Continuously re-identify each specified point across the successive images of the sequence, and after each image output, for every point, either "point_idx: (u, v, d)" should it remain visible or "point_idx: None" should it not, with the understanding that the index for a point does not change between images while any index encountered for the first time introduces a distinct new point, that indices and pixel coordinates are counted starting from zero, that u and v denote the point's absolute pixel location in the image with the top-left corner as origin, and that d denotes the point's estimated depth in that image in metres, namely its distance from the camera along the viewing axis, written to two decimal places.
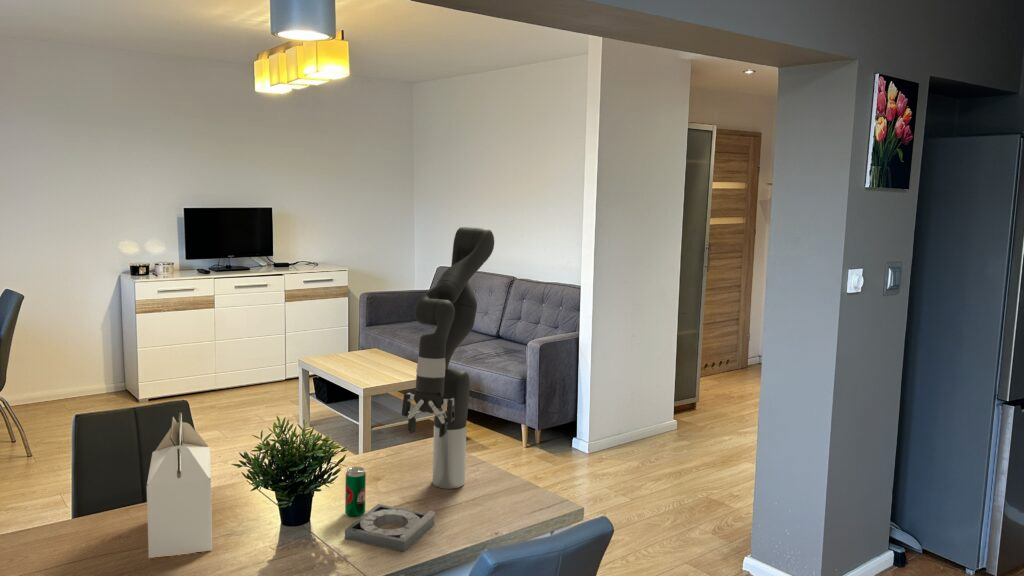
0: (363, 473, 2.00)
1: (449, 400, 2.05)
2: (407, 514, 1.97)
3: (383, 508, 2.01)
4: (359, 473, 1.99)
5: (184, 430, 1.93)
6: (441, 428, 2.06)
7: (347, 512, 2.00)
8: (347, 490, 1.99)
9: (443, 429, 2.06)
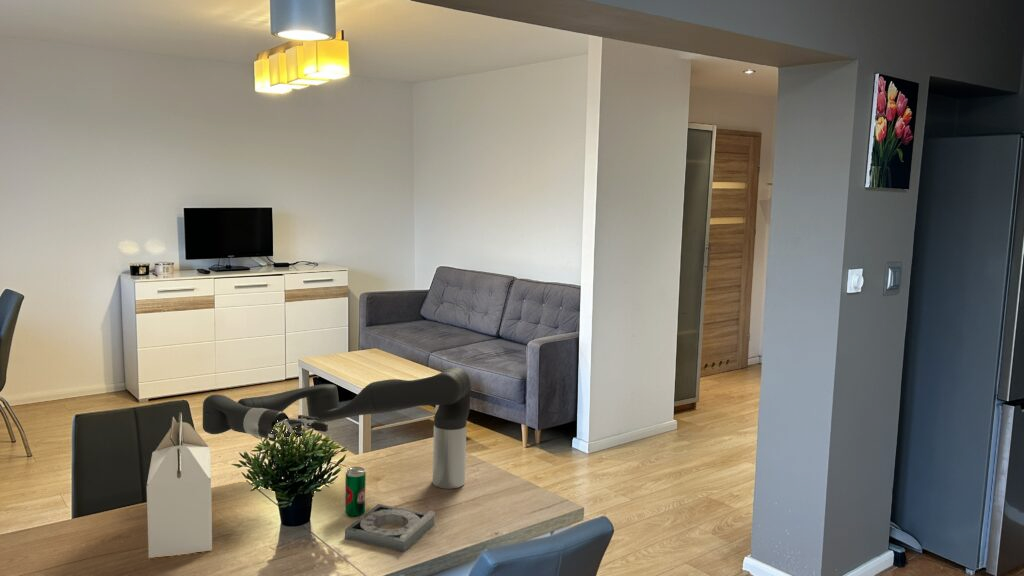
0: (363, 473, 2.00)
1: (299, 415, 2.12)
2: (407, 514, 1.97)
3: (383, 508, 2.01)
4: (359, 473, 1.99)
5: (184, 430, 1.93)
6: (319, 422, 2.07)
7: (347, 512, 2.00)
8: (347, 490, 1.99)
9: None
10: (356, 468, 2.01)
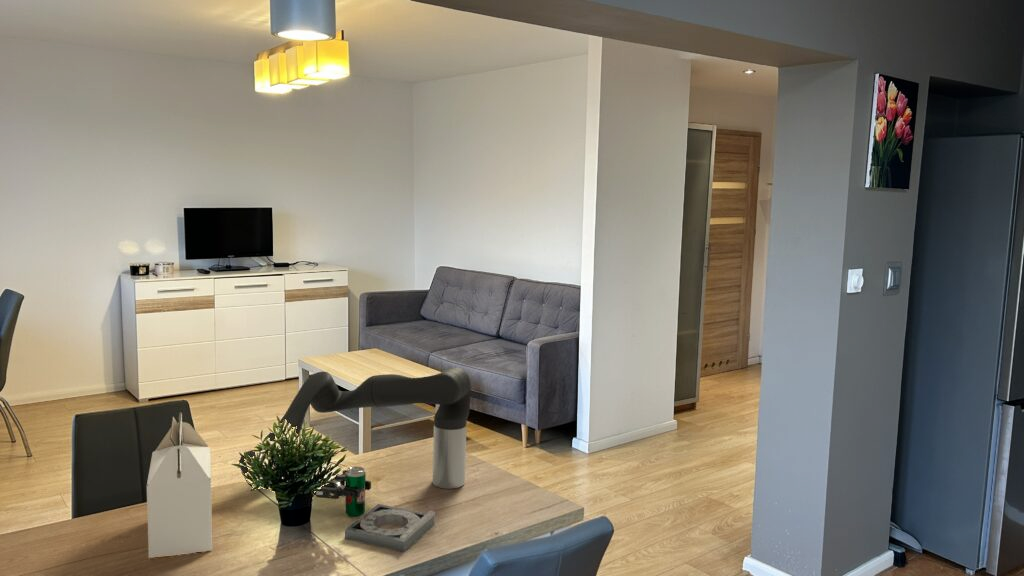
0: (363, 473, 2.00)
1: None
2: (407, 514, 1.97)
3: (383, 508, 2.01)
4: (359, 473, 1.99)
5: (184, 430, 1.93)
6: None
7: (347, 512, 2.00)
8: None
9: None
10: (356, 468, 2.01)
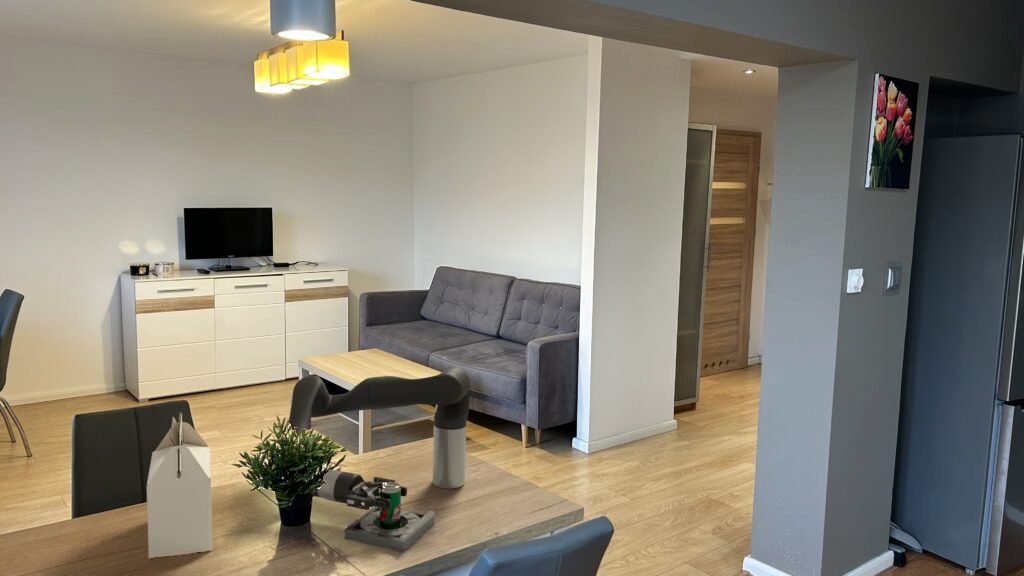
0: (398, 489, 1.90)
1: None
2: (407, 514, 1.97)
3: None
4: (394, 489, 1.89)
5: (184, 430, 1.93)
6: (381, 506, 1.88)
7: None
8: None
9: None
10: (391, 484, 1.92)
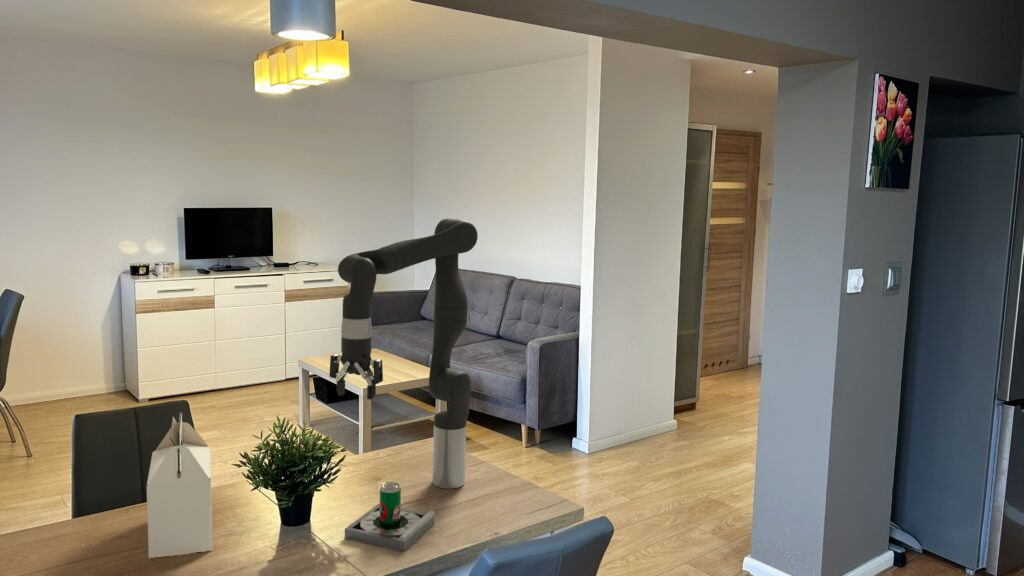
0: (398, 489, 1.91)
1: (375, 362, 1.97)
2: (407, 514, 1.97)
3: None
4: (394, 489, 1.90)
5: (184, 430, 1.93)
6: (369, 390, 1.98)
7: None
8: (382, 507, 1.90)
9: (371, 391, 1.99)
10: (391, 483, 1.92)
